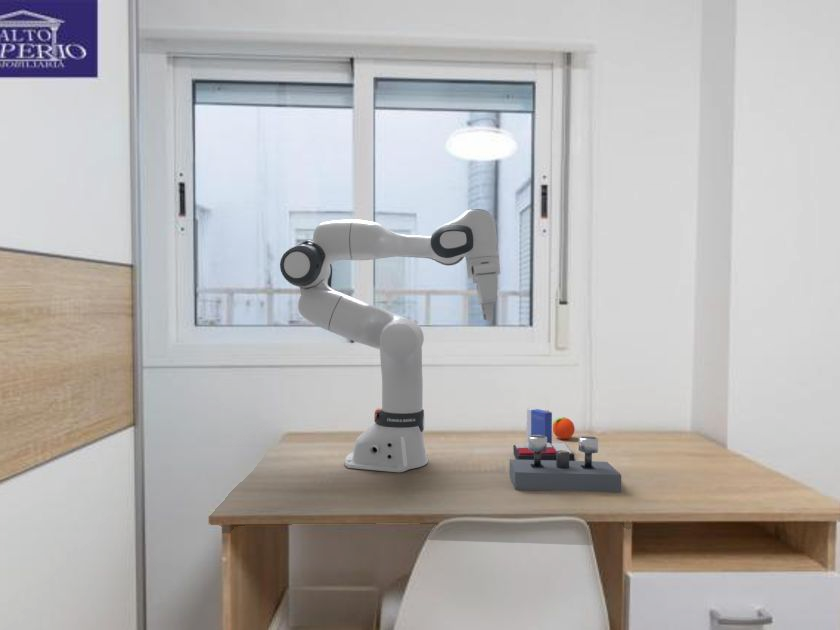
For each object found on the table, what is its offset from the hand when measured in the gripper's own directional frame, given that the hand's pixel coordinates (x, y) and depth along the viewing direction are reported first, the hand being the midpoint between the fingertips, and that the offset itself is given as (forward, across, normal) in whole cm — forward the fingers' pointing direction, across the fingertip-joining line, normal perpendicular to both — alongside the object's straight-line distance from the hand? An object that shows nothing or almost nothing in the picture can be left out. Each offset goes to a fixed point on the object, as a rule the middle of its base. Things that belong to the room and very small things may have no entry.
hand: (488, 320), depth 131 cm
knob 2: (+37, +14, +19) cm, 44 cm away
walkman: (+41, -16, +13) cm, 45 cm away
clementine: (+42, -29, +23) cm, 56 cm away
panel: (+40, +14, +13) cm, 45 cm away
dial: (+36, +14, +13) cm, 41 cm away
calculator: (+41, -5, +12) cm, 43 cm away
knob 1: (+36, +14, +7) cm, 39 cm away
